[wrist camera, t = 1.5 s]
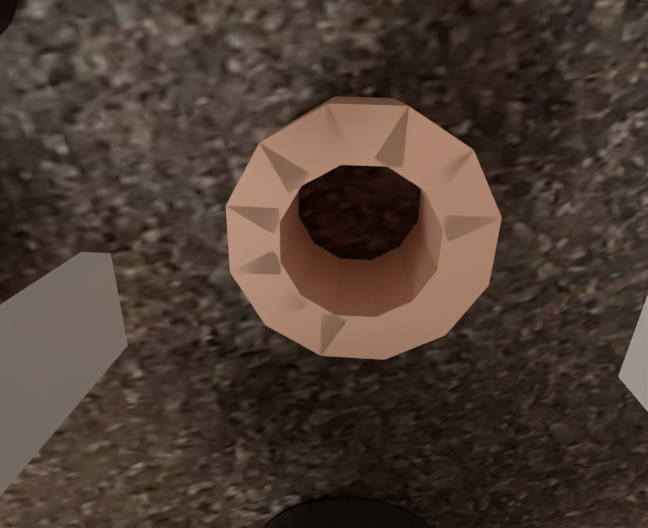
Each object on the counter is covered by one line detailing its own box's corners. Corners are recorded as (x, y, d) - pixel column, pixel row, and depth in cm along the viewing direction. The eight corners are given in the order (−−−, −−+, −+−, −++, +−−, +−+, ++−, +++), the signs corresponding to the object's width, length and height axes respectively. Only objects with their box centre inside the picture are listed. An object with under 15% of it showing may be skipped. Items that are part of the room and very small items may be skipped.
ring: (446, 298, 24) (473, 365, 18) (262, 288, 24) (234, 350, 19) (476, 100, 20) (522, 109, 14) (255, 93, 20) (218, 100, 15)
